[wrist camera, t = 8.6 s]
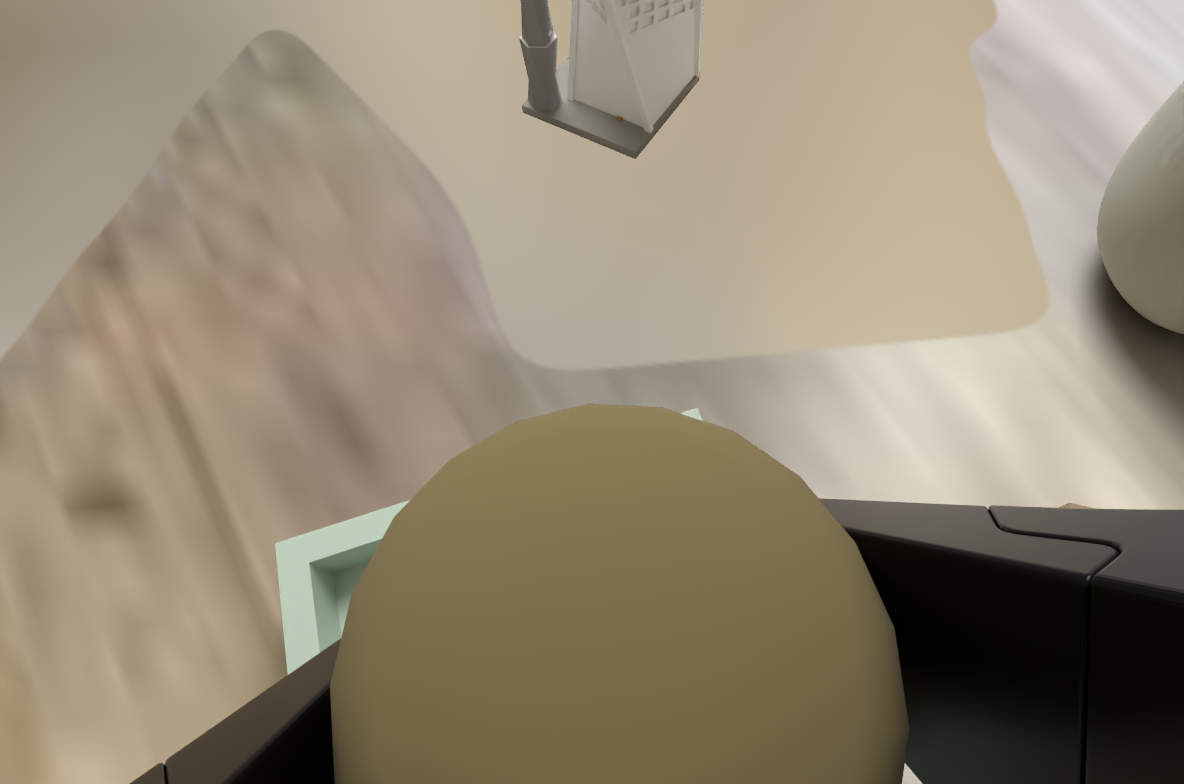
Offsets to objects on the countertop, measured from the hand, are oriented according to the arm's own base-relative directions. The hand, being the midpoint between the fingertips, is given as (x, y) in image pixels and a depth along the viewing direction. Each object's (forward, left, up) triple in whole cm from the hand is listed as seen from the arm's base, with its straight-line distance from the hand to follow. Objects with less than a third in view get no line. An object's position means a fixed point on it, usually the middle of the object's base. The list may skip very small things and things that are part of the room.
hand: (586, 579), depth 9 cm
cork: (-1, 0, -7) cm, 7 cm away
